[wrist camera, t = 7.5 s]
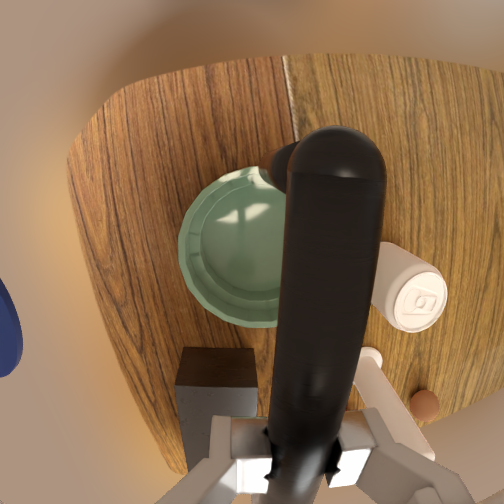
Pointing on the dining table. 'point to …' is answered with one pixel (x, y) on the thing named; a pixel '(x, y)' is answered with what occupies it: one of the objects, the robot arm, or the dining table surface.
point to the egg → (424, 405)
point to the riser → (212, 393)
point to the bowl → (235, 248)
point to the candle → (388, 402)
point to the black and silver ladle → (320, 297)
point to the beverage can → (407, 289)
